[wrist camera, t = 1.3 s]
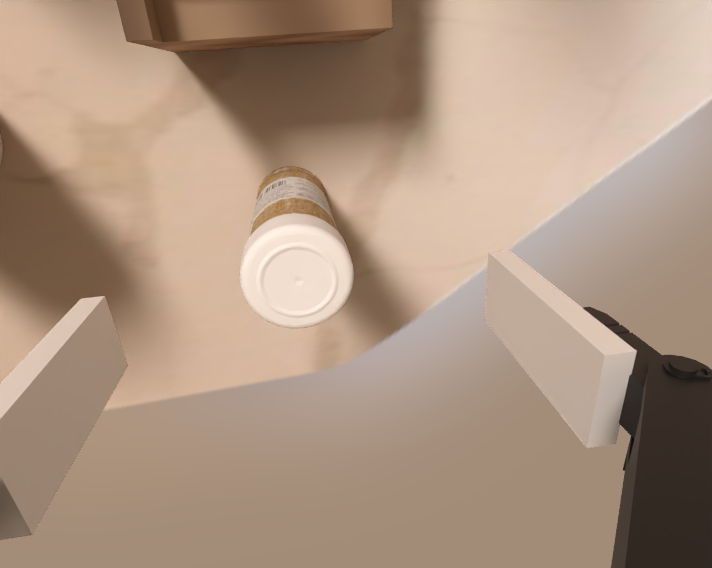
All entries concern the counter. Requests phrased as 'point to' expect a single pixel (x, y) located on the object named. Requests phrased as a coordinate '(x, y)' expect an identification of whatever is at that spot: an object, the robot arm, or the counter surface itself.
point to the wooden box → (250, 22)
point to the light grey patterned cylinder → (1, 149)
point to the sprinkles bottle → (295, 253)
